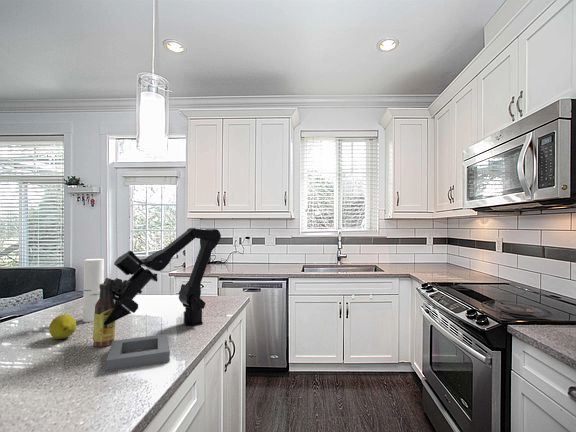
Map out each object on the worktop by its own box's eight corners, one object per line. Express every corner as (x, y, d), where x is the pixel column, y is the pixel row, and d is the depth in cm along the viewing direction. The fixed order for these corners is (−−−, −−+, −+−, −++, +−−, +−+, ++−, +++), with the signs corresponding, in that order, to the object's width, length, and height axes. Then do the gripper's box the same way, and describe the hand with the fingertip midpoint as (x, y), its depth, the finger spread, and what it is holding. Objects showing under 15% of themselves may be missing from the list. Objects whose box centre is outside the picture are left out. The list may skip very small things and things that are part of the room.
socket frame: (166, 343, 105) (166, 333, 106) (169, 361, 91) (169, 351, 91) (112, 350, 99) (112, 340, 99) (106, 371, 84) (106, 360, 84)
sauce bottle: (104, 348, 100) (106, 286, 101) (88, 347, 102) (89, 285, 102) (119, 341, 107) (120, 282, 107) (103, 340, 108) (105, 281, 109)
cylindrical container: (88, 317, 135) (89, 258, 136) (105, 316, 136) (107, 258, 137) (78, 322, 128) (80, 260, 129) (97, 321, 129) (98, 260, 130)
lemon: (50, 335, 112) (51, 313, 112) (77, 332, 116) (77, 310, 116) (45, 345, 103) (46, 321, 103) (74, 341, 107) (75, 317, 107)
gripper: (110, 266, 114) (73, 302, 106) (128, 271, 101) (88, 312, 93) (132, 285, 120) (99, 320, 112) (153, 292, 107) (116, 333, 98)
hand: (100, 321), depth 104 cm, fingers open, 9 cm apart
